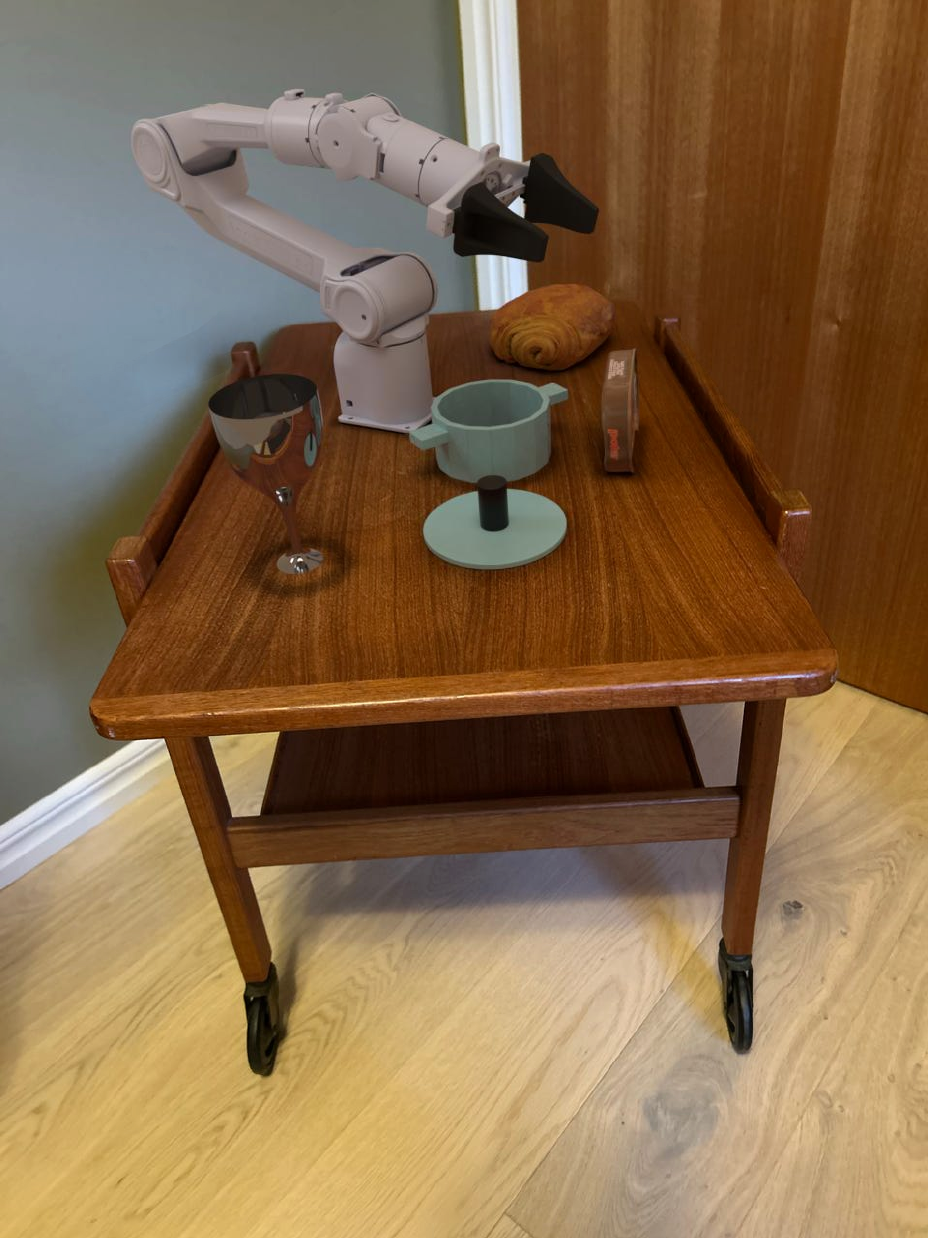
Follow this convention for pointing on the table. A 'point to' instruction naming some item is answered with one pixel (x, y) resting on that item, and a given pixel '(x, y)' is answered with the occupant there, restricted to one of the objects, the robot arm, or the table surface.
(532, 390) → the pot
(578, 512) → the table surface
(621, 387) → the tin
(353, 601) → the table surface
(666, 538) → the table surface
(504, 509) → the lid
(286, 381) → the wine glass
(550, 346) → the croissant
